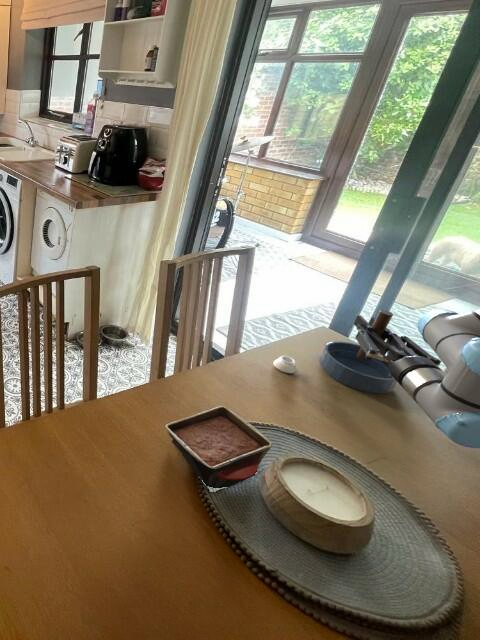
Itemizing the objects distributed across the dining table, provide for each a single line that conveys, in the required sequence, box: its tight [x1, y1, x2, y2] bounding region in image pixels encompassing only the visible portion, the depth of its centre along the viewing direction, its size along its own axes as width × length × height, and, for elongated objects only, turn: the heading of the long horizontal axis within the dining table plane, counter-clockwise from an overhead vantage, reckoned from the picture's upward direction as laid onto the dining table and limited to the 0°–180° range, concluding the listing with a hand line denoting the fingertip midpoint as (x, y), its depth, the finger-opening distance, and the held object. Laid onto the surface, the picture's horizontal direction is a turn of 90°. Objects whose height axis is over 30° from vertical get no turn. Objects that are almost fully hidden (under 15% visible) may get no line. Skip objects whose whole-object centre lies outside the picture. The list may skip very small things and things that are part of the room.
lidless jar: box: [272, 355, 297, 374], centre depth 110 cm, size 5×3×5 cm
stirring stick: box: [357, 309, 394, 361], centre depth 103 cm, size 2×2×14 cm
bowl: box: [318, 341, 399, 394], centre depth 107 cm, size 15×15×5 cm
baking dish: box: [164, 405, 273, 488], centre depth 83 cm, size 14×18×10 cm
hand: (364, 320), depth 108 cm, fingers closed on stirring stick, 2 cm apart
